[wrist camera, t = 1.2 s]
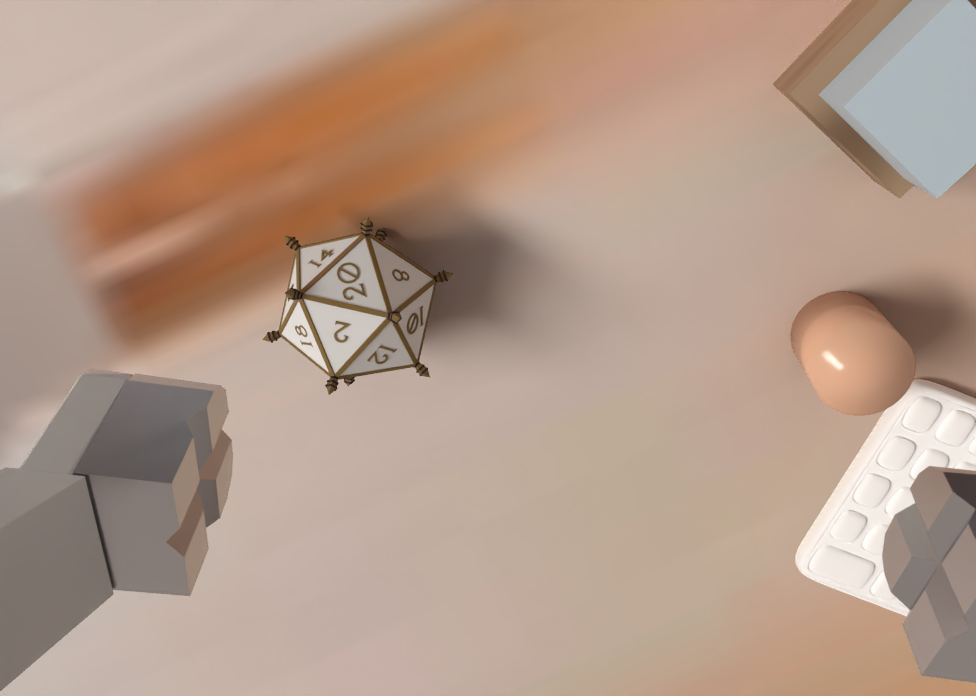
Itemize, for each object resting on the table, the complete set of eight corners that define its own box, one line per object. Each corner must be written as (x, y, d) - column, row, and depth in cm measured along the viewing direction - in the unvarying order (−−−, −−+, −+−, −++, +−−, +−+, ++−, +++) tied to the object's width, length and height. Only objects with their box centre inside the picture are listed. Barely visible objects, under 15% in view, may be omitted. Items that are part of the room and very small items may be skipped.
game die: (354, 250, 51) (218, 213, 43) (480, 223, 47) (355, 176, 39) (358, 406, 50) (219, 399, 42) (488, 394, 46) (361, 384, 37)
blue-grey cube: (1009, 81, 38) (1055, 92, 34) (904, 178, 40) (937, 199, 36) (921, -10, 37) (959, -9, 33) (818, 94, 39) (843, 106, 35)
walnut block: (992, 66, 41) (1032, 74, 38) (872, 180, 44) (899, 198, 40) (888, -40, 40) (920, -42, 37) (771, 83, 43) (789, 93, 39)
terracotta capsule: (901, 329, 46) (936, 368, 42) (832, 389, 48) (859, 433, 43) (839, 273, 46) (868, 306, 41) (771, 336, 47) (792, 374, 43)
